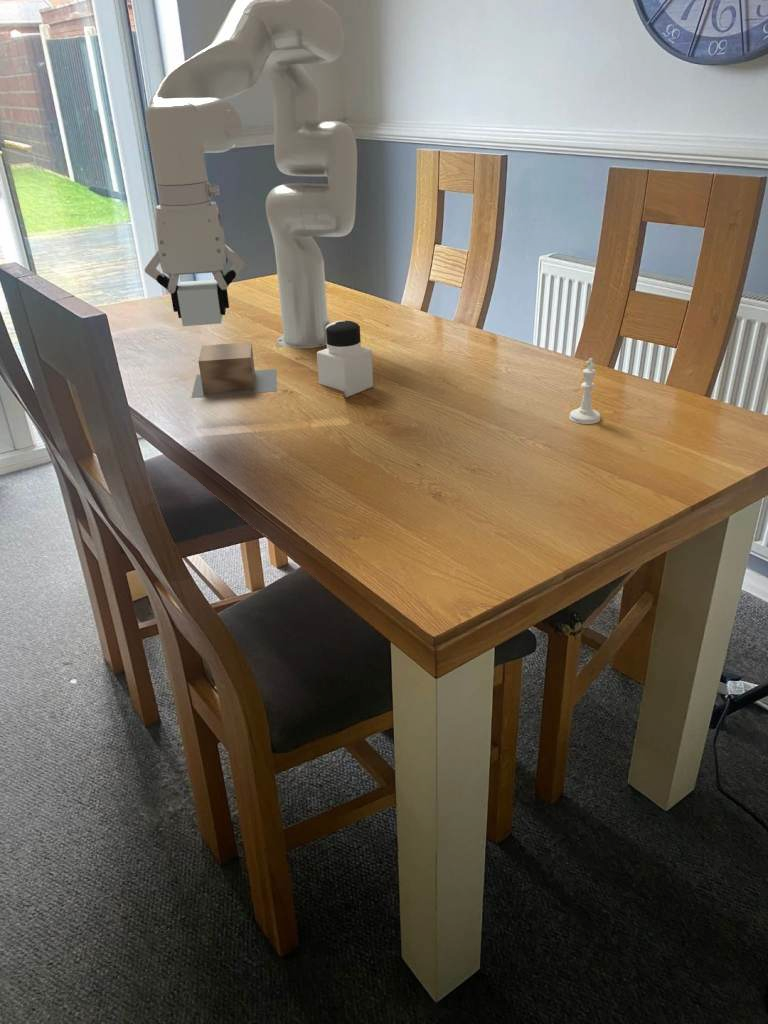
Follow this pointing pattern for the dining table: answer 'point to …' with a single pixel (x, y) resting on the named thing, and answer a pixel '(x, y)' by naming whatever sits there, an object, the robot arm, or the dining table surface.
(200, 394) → the slate board
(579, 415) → the chess piece
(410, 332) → the dining table surface
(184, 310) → the blue-grey block
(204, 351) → the walnut block
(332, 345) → the medicine bottle
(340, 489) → the dining table surface
